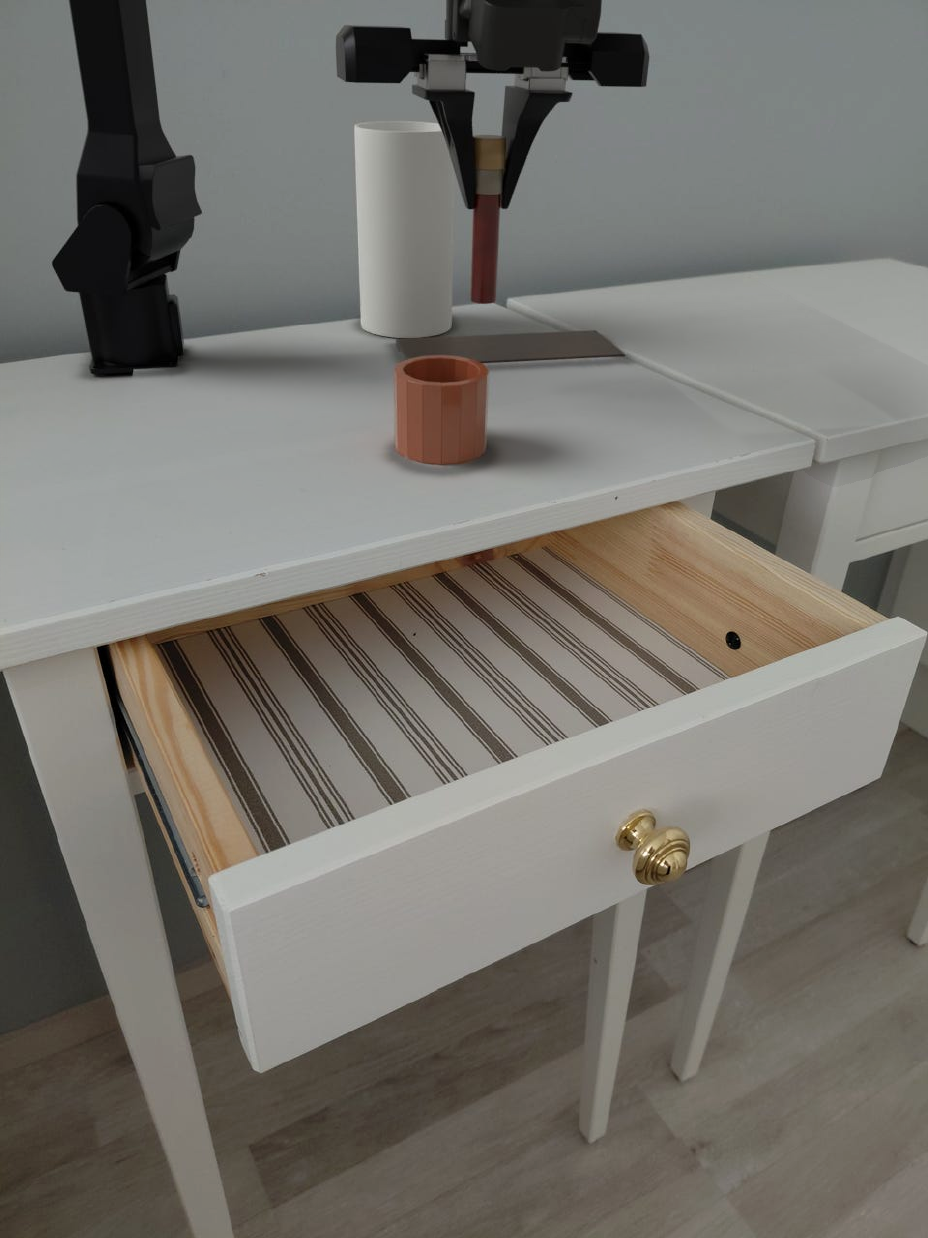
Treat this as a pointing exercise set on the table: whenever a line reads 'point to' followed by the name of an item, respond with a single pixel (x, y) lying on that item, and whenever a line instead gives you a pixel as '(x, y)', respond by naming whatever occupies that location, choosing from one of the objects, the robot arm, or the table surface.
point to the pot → (441, 409)
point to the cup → (404, 228)
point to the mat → (513, 346)
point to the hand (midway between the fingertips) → (486, 208)
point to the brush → (486, 215)
